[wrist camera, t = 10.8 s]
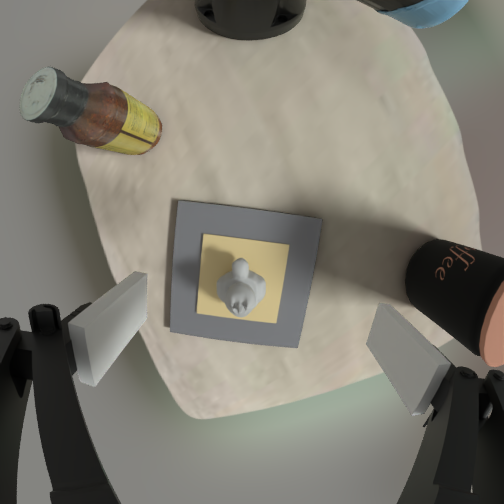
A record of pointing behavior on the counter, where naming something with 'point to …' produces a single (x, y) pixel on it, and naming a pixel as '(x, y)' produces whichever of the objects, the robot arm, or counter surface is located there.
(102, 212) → the counter surface
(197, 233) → the board
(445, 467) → the robot arm
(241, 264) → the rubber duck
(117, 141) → the sauce bottle
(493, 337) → the coffee jar
